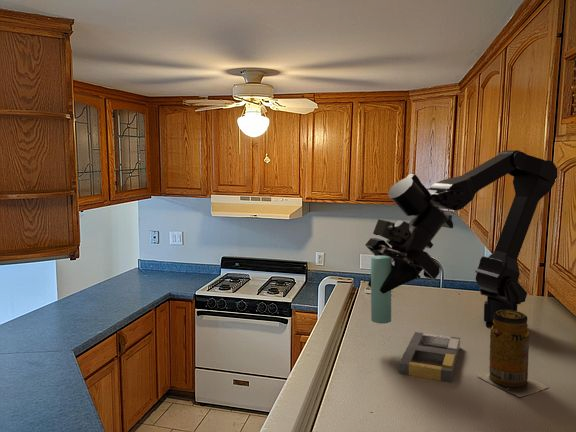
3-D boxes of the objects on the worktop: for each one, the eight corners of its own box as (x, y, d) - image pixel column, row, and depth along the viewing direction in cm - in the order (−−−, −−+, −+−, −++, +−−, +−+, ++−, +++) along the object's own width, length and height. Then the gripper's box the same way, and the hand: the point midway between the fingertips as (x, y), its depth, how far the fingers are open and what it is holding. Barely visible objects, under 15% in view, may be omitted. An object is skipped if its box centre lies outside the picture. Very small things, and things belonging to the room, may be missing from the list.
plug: (393, 318, 94) (393, 256, 93) (388, 324, 91) (388, 260, 89) (374, 315, 96) (373, 254, 95) (369, 322, 93) (368, 259, 91)
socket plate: (459, 347, 94) (460, 336, 94) (451, 382, 80) (451, 369, 79) (415, 340, 98) (415, 330, 97) (399, 373, 83) (399, 361, 83)
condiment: (505, 368, 84) (507, 305, 83) (548, 388, 77) (551, 319, 75) (476, 377, 81) (478, 312, 80) (519, 399, 74) (521, 327, 72)
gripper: (372, 201, 101) (328, 256, 98) (427, 209, 83) (376, 275, 81) (402, 233, 104) (361, 287, 102) (461, 247, 87) (412, 312, 85)
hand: (375, 289), depth 92 cm, fingers closed on plug, 4 cm apart
